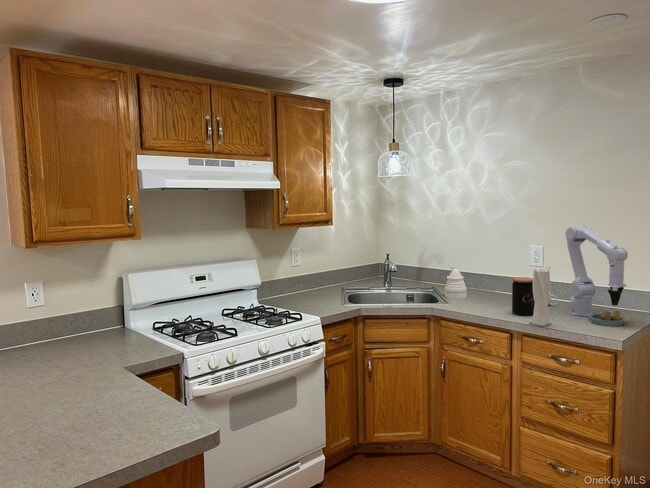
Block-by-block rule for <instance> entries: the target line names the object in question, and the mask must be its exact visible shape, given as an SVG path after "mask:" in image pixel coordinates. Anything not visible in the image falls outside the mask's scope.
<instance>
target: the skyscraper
mask: <svg viewBox="0 0 650 488" xmlns="http://www.w3.org/2000/svg"><path fill="white" fill-rule="evenodd" d="M547 269H548V270H547ZM550 269H551V268H550V265H546V267H544V268H543V267H540V268H538V269H537V268H534V269H533V276H532V278H533V296H534V301H535V306H534V313H533V315H532V321H531V322H529V325H533V326H537V327H541V328H542V327H543V328H544V327H546V326H547V327H548V326H550V325H552V323H551V322H550V317H549V315H550V314H549V308H548V306H549V305H547V301H548V297H549V292H551V291H550V290H551V274H550Z"/></svg>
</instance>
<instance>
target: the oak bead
mask: <svg viewBox="0 0 650 488" xmlns="http://www.w3.org/2000/svg"><path fill="white" fill-rule="evenodd" d="M609 312H611V321H618V320H620V317H621V311H619V310H614V309H613V310H610V311H609Z"/></svg>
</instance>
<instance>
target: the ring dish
mask: <svg viewBox="0 0 650 488" xmlns="http://www.w3.org/2000/svg"><path fill="white" fill-rule="evenodd" d="M588 321H589V323H591V324H593V325H597V326H603V327H622V326H624V324H625V318H624V317H622V316H620V320H618V321H607V320H601V313H593V314H592V315H590V316H588Z"/></svg>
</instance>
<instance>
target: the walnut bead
mask: <svg viewBox="0 0 650 488" xmlns="http://www.w3.org/2000/svg"><path fill="white" fill-rule="evenodd" d="M600 314H601V320H607V321H611V312H610V311H607V310H604V311H603V310H602V311H600Z"/></svg>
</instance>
